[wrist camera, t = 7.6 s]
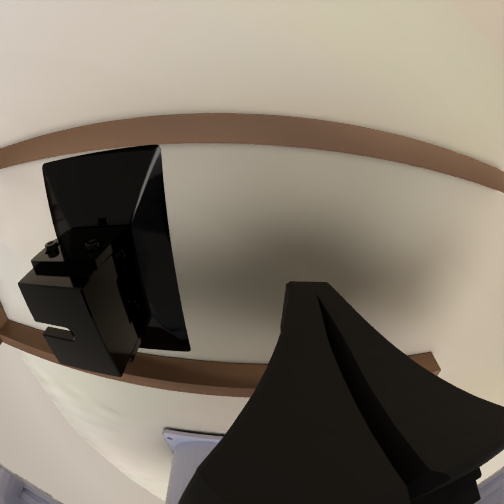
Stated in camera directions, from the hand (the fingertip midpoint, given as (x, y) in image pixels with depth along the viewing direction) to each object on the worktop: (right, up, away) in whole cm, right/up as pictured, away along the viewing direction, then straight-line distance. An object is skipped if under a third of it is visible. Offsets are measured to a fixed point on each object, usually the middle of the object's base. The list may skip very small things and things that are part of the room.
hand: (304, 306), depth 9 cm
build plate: (-7, +1, +2) cm, 8 cm away
